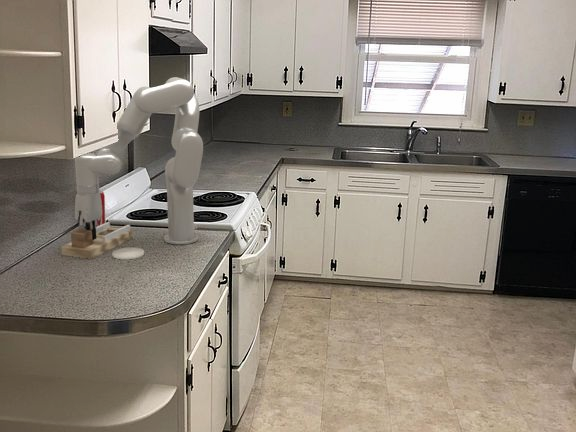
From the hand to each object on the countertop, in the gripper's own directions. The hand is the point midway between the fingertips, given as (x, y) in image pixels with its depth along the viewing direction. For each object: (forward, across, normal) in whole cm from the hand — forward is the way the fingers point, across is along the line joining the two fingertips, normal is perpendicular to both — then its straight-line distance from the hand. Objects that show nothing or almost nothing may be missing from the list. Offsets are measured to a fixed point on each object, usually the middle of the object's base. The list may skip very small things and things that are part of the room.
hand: (91, 238), depth 231 cm
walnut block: (+1, +5, 0) cm, 5 cm away
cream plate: (+4, 0, +15) cm, 16 cm away
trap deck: (+4, -4, 0) cm, 6 cm away
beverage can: (+4, -22, -13) cm, 26 cm away
